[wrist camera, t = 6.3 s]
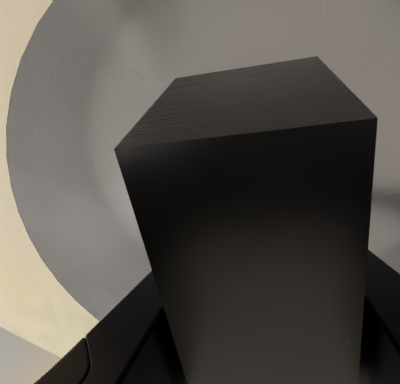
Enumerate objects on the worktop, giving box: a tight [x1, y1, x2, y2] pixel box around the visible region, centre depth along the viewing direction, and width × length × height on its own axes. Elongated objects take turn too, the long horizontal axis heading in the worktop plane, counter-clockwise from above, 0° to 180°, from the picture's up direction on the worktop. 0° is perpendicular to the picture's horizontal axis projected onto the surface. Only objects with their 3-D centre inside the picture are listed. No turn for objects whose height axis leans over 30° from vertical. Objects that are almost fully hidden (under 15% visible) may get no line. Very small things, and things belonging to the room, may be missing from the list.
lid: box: [6, 0, 400, 384], centre depth 8 cm, size 14×14×5 cm
